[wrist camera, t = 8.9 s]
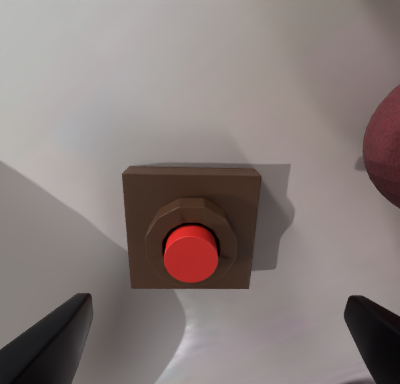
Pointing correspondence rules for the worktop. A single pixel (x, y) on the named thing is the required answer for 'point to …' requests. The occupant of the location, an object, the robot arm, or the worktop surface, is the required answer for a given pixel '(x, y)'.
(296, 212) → the worktop surface
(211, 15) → the worktop surface
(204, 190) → the block
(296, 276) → the worktop surface
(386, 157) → the decorative ball
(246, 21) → the worktop surface
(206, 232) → the power button
